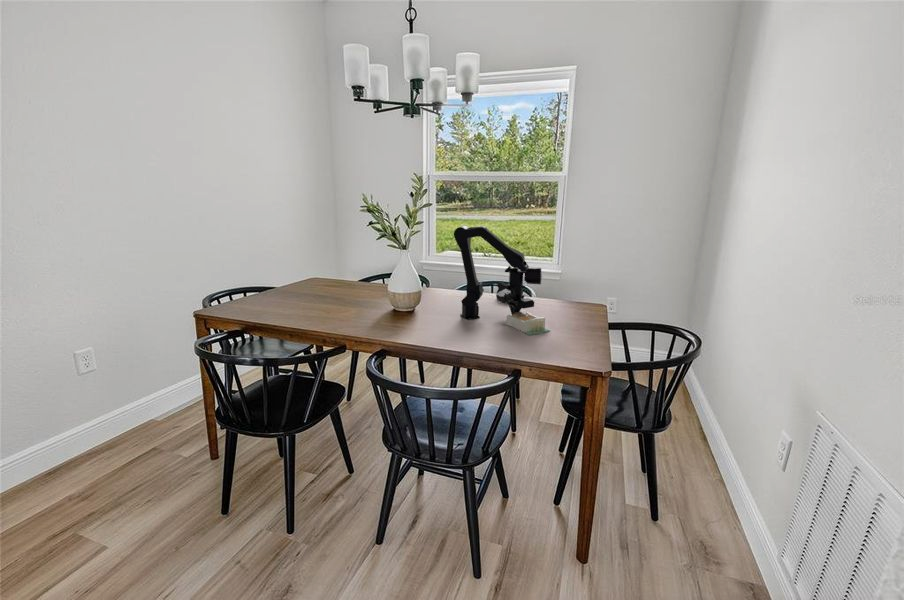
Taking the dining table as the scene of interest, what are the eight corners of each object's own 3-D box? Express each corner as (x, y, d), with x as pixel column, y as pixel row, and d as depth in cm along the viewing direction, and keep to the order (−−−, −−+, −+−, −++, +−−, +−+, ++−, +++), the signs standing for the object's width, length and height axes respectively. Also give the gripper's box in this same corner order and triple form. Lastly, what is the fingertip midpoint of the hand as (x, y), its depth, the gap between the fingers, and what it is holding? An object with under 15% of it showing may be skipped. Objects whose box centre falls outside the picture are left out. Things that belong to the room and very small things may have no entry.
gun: (515, 314, 206) (525, 298, 201) (491, 295, 212) (499, 279, 207) (518, 313, 208) (528, 297, 203) (494, 294, 214) (502, 278, 209)
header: (528, 335, 162) (528, 323, 161) (505, 324, 175) (506, 312, 173) (551, 331, 167) (552, 318, 166) (527, 320, 180) (528, 308, 179)
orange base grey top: (519, 326, 172) (519, 315, 171) (511, 322, 177) (512, 312, 175) (527, 324, 175) (528, 314, 173) (520, 321, 179) (521, 311, 177)
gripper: (487, 280, 179) (486, 315, 183) (513, 290, 163) (511, 328, 167) (508, 277, 184) (507, 311, 188) (536, 286, 168) (533, 323, 173)
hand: (514, 318), depth 179 cm, fingers closed
